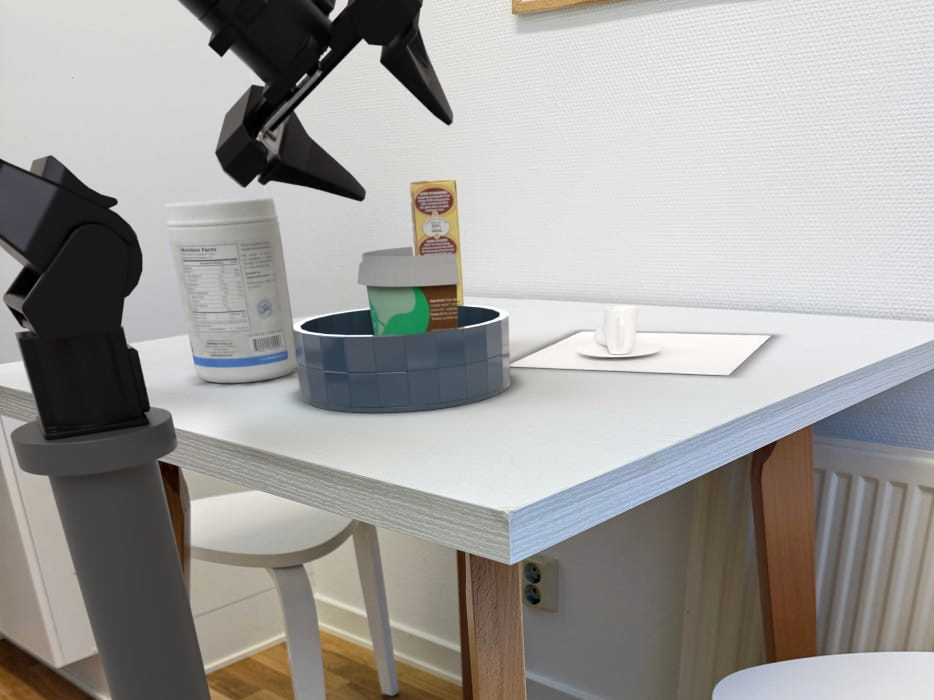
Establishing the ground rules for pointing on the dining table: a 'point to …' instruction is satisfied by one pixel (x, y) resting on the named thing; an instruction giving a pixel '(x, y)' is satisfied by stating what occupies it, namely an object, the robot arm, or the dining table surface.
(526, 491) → the dining table surface
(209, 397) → the dining table surface
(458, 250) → the candy box
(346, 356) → the pot
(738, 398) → the dining table surface
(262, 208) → the supplement tub
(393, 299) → the food container
